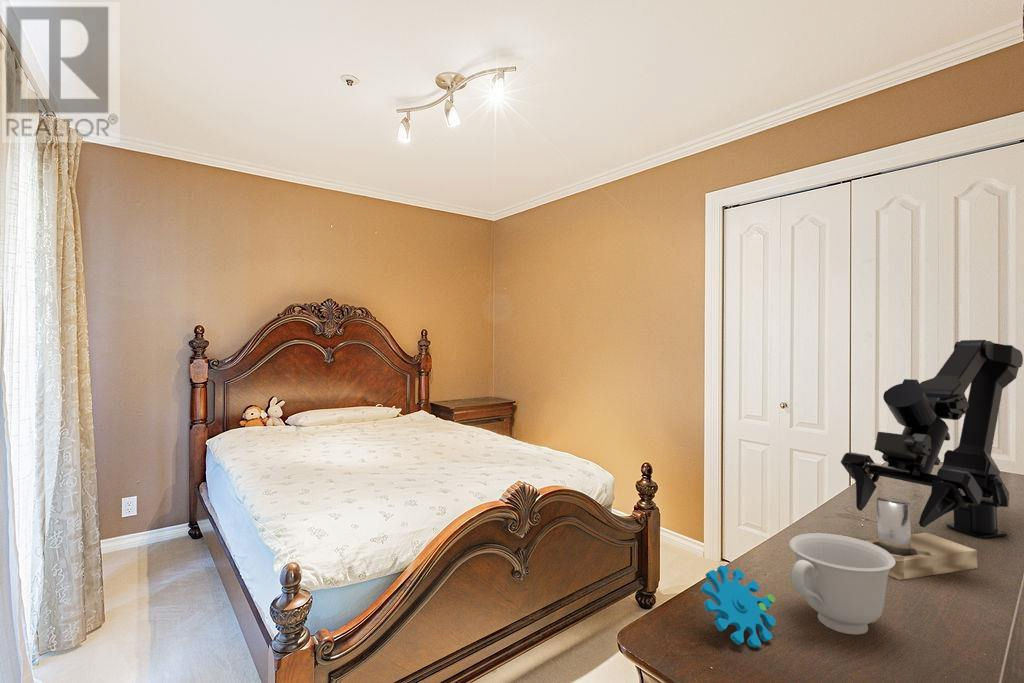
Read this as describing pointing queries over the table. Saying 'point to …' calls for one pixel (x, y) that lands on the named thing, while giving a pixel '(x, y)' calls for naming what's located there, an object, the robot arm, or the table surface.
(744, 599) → the gear
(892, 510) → the translucent cylinder
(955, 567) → the jig
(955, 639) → the table surface
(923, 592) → the table surface
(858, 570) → the teacup
